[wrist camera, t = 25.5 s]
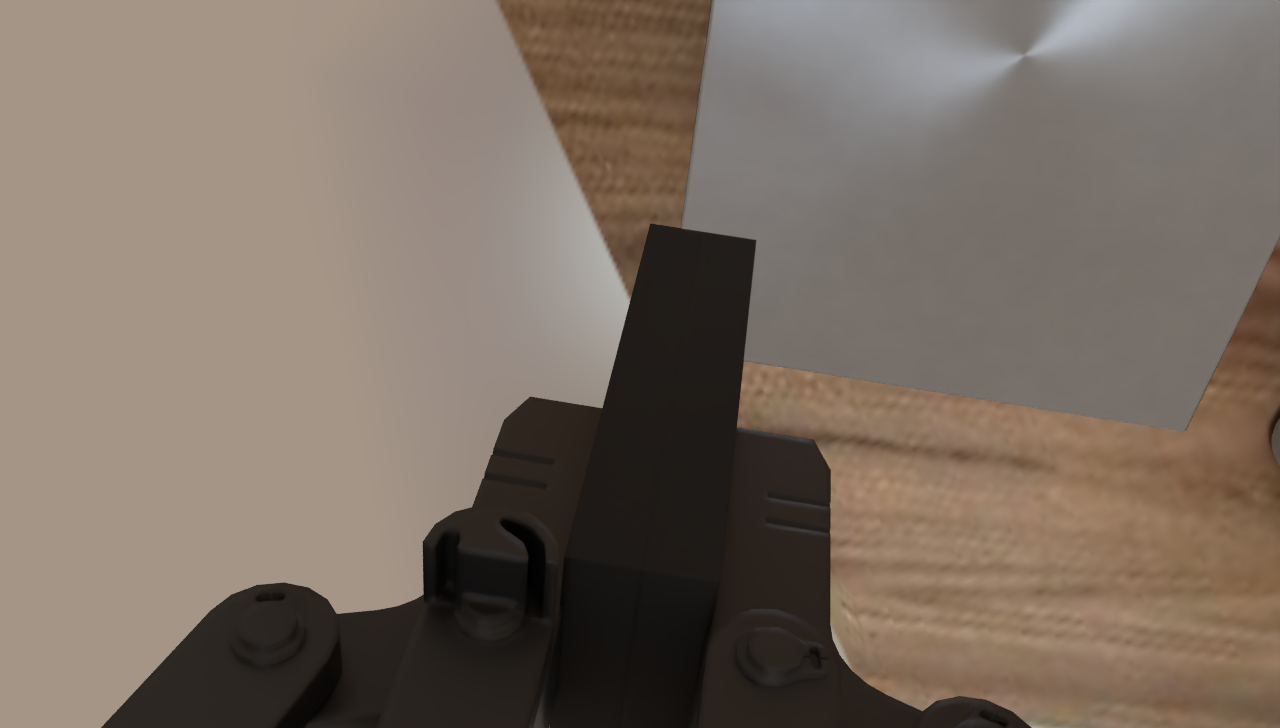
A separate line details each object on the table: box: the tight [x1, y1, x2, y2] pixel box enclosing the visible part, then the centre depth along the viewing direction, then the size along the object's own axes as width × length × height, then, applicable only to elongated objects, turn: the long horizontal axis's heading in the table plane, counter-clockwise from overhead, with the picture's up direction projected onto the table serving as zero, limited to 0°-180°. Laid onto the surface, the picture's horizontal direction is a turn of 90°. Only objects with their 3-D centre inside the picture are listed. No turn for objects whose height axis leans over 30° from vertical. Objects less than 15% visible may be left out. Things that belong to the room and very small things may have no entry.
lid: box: [681, 0, 1280, 432], centre depth 27 cm, size 15×20×1 cm
